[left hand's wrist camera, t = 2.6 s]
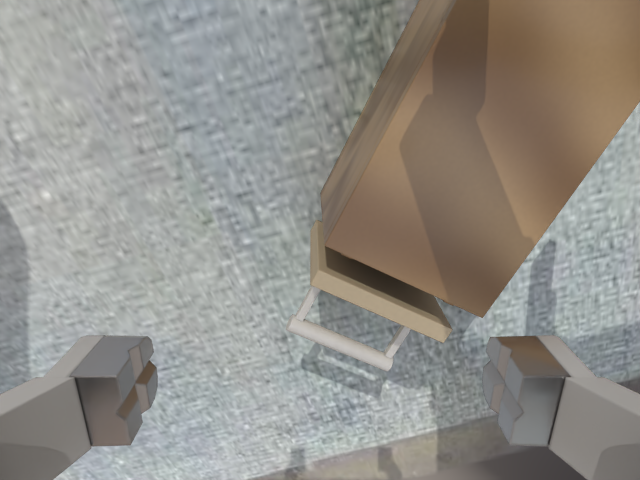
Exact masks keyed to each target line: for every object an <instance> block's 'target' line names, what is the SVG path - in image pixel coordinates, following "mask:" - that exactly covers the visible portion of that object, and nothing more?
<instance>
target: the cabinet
mask: <svg viewBox="0 0 640 480" xmlns="http://www.w3.org/2000/svg"><path fill="white" fill-rule="evenodd" d="M639 102H640V0H419V2H418V4H417V6H416V8H415V9H414V11H413V13H412V15H411V17H410V19H409V21H408V23H407V25H406V27H405V29H404V31H403V33H402V35H401V37H400V39H399V41H398V43H397V45H396V47H395V48H394V50H393V52H392V54H391V56H390V58H389V60H388V62H387V64H386V66H385V68H384V70H383V72H382V74H381V76H380V78H379V80H378V82H377V84H376V86H375V88H374V89H373V91H372V93H371V95H370V97H369V99H368V101H367V103H366V105H365V107H364V109H363V111H362V113H361V115H360V117H359V119H358V121H357V123H356V125H355V127H354V128H353V130H352V132H351V134H350V136H349V138H348V140H347V142H346V144H345V146H344V148H343V150H342V152H341V154H340V156H339V158H338V160H337V162H336V164H335V166H334V167H333V169H332V171H331V173H330V175H329V177H328V179H327V181H326V183H325V185H324V187H323V189H322V191H321V207H322V220H323V233H324V245H325V246H326V247H328V248H331V249H333V250H335V251H337V252H339V253H341V254H344V255H346V256H348V257H350V258H352V259H355V260H357V261H359V262H361V263H363V264H365V265H368V266H370V267H372V268H374V269H376V270H379V271H381V272H383V273H385V274H387V275H390V276H392V277H394V278H396V279H398V280H400V281H403V282H405V283H407V284H409V285H411V286H414V287H416V288H418V289H420V290H422V291H424V292H427V293H429V294H431V295H433V296H435V297H438V298H440V299H442V300H444V301H446V302H448V303H451V304H453V305H455V306H457V307H459V308H462V309H464V310H466V311H468V312H470V313H473V314H475V315H477V316H479V317H481V318H483V317H484V315H485V314H486V313H487V311H488V310H489V308H490V307H491V306H492V304H493V303H494V302H495V300H496V299H497V297H498V296H499V295H500V293H501V292H502V290H503V289H504V288H505V286H506V285H507V284H508V282H509V281H510V279H511V278H512V277H513V275H514V274H515V273H516V271H517V270H518V268H519V267H520V266H521V264H522V263H523V262H524V260H525V259H526V257H527V256H528V255H529V253H530V252H531V251H532V249H533V248H534V246H535V245H536V244H537V242H538V241H539V240H540V238H541V237H542V235H543V234H544V233H545V231H546V230H547V229H548V227H549V226H550V224H551V223H552V222H553V220H554V219H555V217H556V216H557V215H558V213H559V212H560V211H561V209H562V208H563V206H564V205H565V204H566V202H567V201H568V200H569V198H570V197H571V195H572V194H573V193H574V191H575V190H576V189H577V187H578V186H579V184H580V183H581V182H582V180H583V179H584V178H585V176H586V175H587V173H588V172H589V171H590V169H591V168H592V167H593V165H594V164H595V162H596V161H597V160H598V158H599V157H600V155H601V154H602V153H603V151H604V150H605V149H606V147H607V146H608V144H609V143H610V142H611V140H612V139H613V138H614V136H615V135H616V133H617V132H618V131H619V129H620V128H621V127H622V125H623V124H624V122H625V121H626V120H627V118H628V117H629V116H630V114H631V113H632V111H633V110H634V109H635V107H636V106H637V105H638V103H639Z"/></svg>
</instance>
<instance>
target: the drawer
mask: <svg viewBox="0 0 640 480" xmlns="http://www.w3.org/2000/svg"><path fill="white" fill-rule="evenodd" d="M310 285H311V288H310V289H309V291H308V293H307V295H306V297H305V299H304V300H303V302H302V304H301V306H300V308H299V310H298V311H297V313H296V315H291V317H290V319H289V321H288V323H287V326H286V330H287V331H289V332H292V333H294V334H297V335H299V336H301V337H304V338H306V339H309V340H311V341H314V342H316V343H319V344H321V345H323V346H326V347H328V348H331V349H333V350H336V351H338V352H340V353H343V354H345V355H348V356H350V357H353V358H355V359H357V360H360V361H362V362H365V363H367V364H370V365H372V366H374V367H377V368H379V369H382V370H384V371H389V370H390V369H391V367H392V364H393V356H394V354H395V353H396V351H397V350H398V348H399V347H400V345H401V344H402V342H403V341H404V339H405V338H406V336H407V335H408V333H409V332H410V330H411V329H412V330H414V331H417V332H419V333H421V334H424V335H426V336H428V337H430V338H433V339H435V340H437V341H440V342H442V343H444V341H445V340H446V339H447V337H448V336H449V334H450V333H451V331H452V328H451V326H450V324H449V322H448V321H447V319H446V317H445V315H444V313H443V312H442V310H441V308H440V306H439V304H438V303H437V301H436V299H435V297H434V296H433V295H431V294H429V293H427V292H424V291H422V290H420V289H418V288H416V287H414V286H411V285H409V284H407V283H405V282H403V281H400V280H398V279H396V278H394V277H392V276H390V275H387V274H385V273H383V272H381V271H379V270H376V269H374V268H372V267H370V266H368V265H365V264H363V263H361V262H359V261H357V260H355V259H352V258H350V257H348V256H346V255H344V254H341V253H339V252H337V251H335V250H333V249H331V248H328V247H326V246H325V245H324V233H323V222H320V221H318V220H316V222H315V224H314V226H313V227H312V229H311V263H310ZM320 290H323V291H325V292H327V293H330V294H332V295H334V296H337V297H339V298H341V299H343V300H346V301H348V302H350V303H353V304H355V305H357V306H359V307H362V308H364V309H366V310H369V311H371V312H373V313H375V314H378V315H380V316H382V317H385V318H387V319H389V320H392V321H394V322H396V323H398V324H401V326H400V328H399V329H398V331H397V332H396V334H395V336H394V337H393V339H392V340H391V342H390V343H389V345H388V346H387V348H386V349H385V351H384V352H381V351H379V350H377V349H374V348H372V347H369V346H367V345H365V344H362V343H360V342H357V341H355V340H353V339H350V338H348V337H346V336H343V335H341V334H338V333H336V332H334V331H331V330H329V329H327V328H324V327H322V326H319V325H317V324H315V323H312V322H310V321H307V320H305V319H304V318H305V317H306V315H307V313H308V311H309V310H310V308H311V306H312V304H313V302H314V301H315V299H316V297H317V295H318V293H319V292H320ZM443 301H444V300H443ZM444 302H446V301H444ZM446 303H448V302H446ZM448 304H450V305H452V306H454V305H453V304H451V303H448Z"/></svg>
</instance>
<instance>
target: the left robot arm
mask: <svg viewBox="0 0 640 480" xmlns="http://www.w3.org/2000/svg"><path fill="white" fill-rule="evenodd" d="M153 353H154V350H153V345H152V340H151V339H150V338H149V337H148V336H105V335H87V336H83V337H81V338H80V339H79V340H78V341H77V342H76V343H75V344H74V345H73V346H72V347H71V348H70V349H69V351H68V352H67V353H66V354H65V355H64V356H63V357H62V358H61V359H60V360H59V361H58V362H57V363H56V364H55V365H54V366H53V367H52V368H51V369H50V371H49V372H48V373H47V374H46V375H45V376H44V377H36V378H33V379H31V380H29V381H27V382H25V383H23V384H21V385H19V386H17V387H14V388H12V389H10V390H8V391H6V392H4V393H2V394H0V480H53V479H54V478H56V477H57V476H58V475H59V474H60V473H62V472H63V471H64V470H65V469H67V468H68V467H69V466H70V465H72V464H73V463H74V462H75V461H76V460H78V459H79V458H80V457H81V456H83V455H84V454H85V453H86V452H88V451H89V450H90V449H91V446H121V445H131V443H132V442H133V440H134V438H135V436H136V434H137V432H138V430H139V428H140V426H141V425H142V423H143V421H142V416H141V414H142V413H143V412H145V411H146V410H148V409H149V408H150V407H151V405H152V403H153V401H154V399H155V395H156V391H157V387H158V375H157V368H156V367H155V366H154V365H153V364H152V363H151V361H150V360H149V359H150V358H151V356H152V354H153ZM486 353H487V354H488V356H489V358H490V359H491V360H490V361H489V363H488V364H487V365H486V366H485V367H484V368H483V376H482V384H483V392H484V396H485V399H486V401H487V403H488V405H489V407H490V408H491V409H492V410H494V411H495V412H497V413H498V414H499V416H498V421H497V423H498V424H499V426H500V428H501V430H502V432H503V434H504V436H505V438H506V440H507V441H508V443H509V445H518V446H549V449H550V450H551V451H553V452H554V453H555V454H556V455H558V456H559V457H560V458H561V459H563V460H564V461H565V462H566V463H567V464H569V465H570V466H571V467H572V468H574V469H575V470H576V471H577V472H578V473H580V474H581V475H582V476H583V477H585V478H586V479H587V480H640V394H638V393H636V392H634V391H632V390H630V389H628V388H626V387H623V386H621V385H619V384H617V383H615V382H613V381H611V380H609V379H607V378H604V377H596V376H595V375H594V374H593V373H592V372H591V371H590V369H589V368H588V367H587V366H586V365H585V364H584V363H583V362H582V361H581V360H580V359H579V358H578V357H577V356H576V355H575V354H574V353H573V352H572V350H571V349H570V348H569V347H568V346H567V345H566V344H565V343H564V342H563V341H562V340H561V339H560V338H559V337H557V336H555V335H541V336H512V337H490V339H489V341H488V344H487V349H486Z"/></svg>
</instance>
